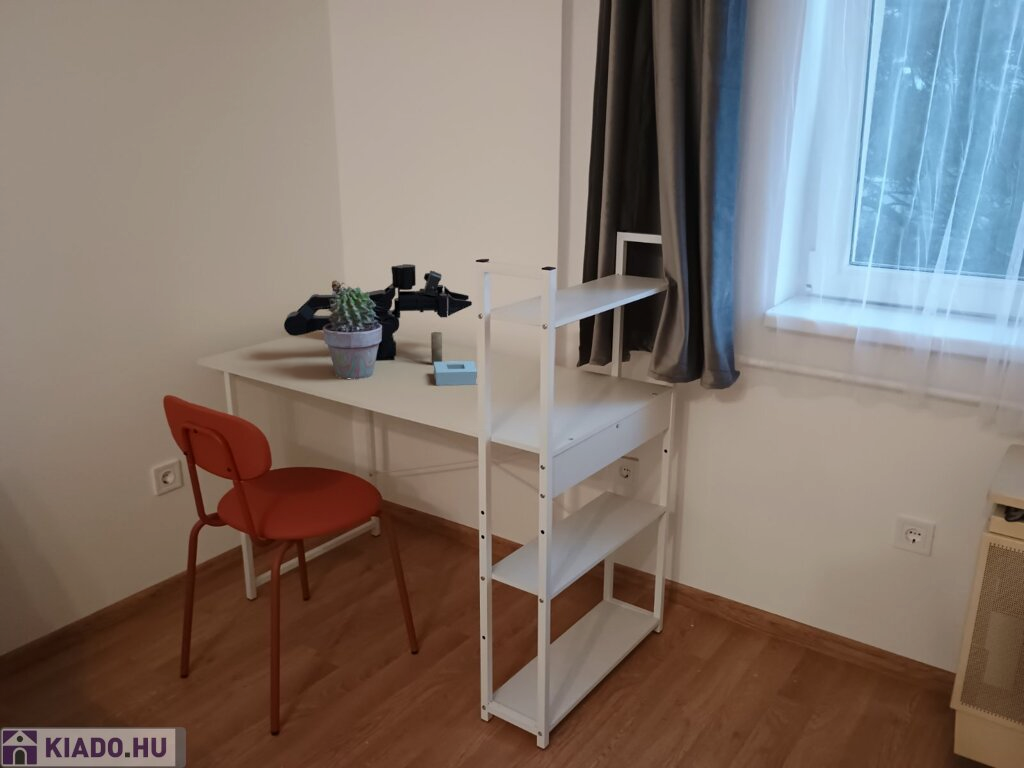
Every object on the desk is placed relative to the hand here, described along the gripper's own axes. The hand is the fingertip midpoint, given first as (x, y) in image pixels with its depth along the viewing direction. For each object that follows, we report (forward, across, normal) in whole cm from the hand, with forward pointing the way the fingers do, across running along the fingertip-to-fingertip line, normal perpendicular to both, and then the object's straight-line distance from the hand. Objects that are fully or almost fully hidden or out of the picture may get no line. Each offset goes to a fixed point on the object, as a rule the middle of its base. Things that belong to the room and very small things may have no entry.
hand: (470, 300), depth 257 cm
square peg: (-10, -9, +17) cm, 22 cm away
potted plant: (-32, -18, +17) cm, 41 cm away
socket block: (-6, -25, +17) cm, 31 cm away
